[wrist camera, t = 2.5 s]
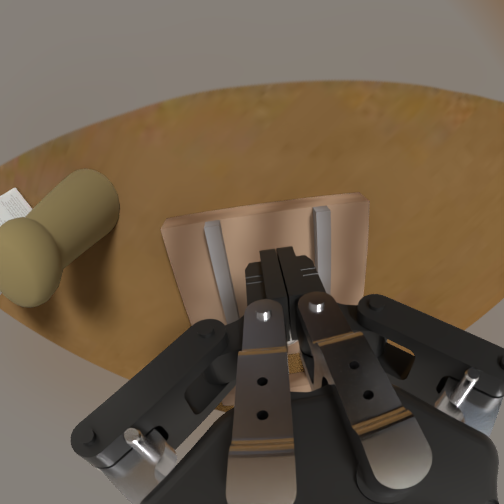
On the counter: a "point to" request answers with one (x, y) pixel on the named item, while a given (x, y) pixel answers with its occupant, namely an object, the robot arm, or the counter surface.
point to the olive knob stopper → (55, 236)
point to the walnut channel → (262, 238)
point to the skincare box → (13, 206)
